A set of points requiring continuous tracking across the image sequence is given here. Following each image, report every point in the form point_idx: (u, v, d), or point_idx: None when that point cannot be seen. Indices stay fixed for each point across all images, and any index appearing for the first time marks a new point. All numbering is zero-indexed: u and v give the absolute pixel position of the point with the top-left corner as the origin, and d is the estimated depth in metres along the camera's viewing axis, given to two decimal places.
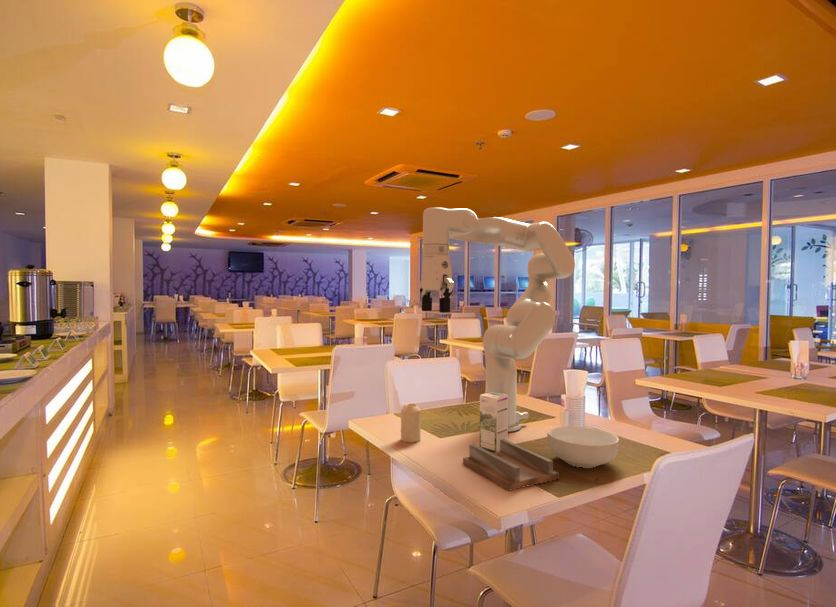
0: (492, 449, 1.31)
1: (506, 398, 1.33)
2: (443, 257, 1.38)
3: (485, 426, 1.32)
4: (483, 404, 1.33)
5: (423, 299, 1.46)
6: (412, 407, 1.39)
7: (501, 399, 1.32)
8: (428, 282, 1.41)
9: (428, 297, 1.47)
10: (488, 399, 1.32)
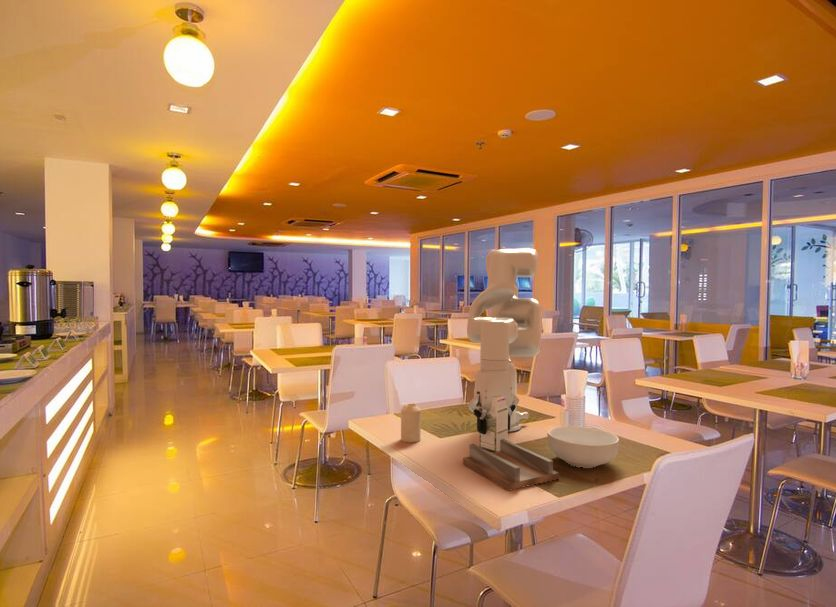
0: (492, 449, 1.31)
1: None
2: None
3: None
4: None
5: (485, 421, 1.31)
6: (412, 407, 1.39)
7: (501, 399, 1.32)
8: None
9: None
10: None
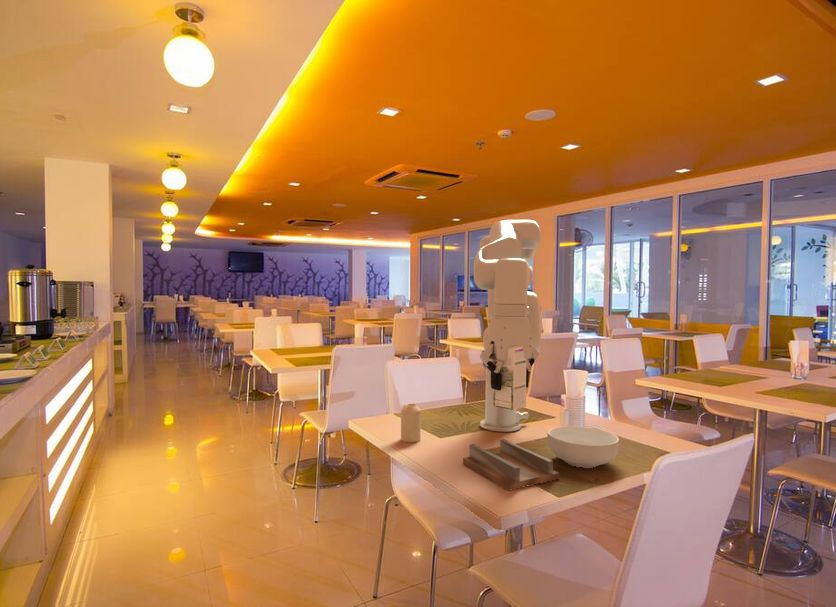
0: (508, 407, 1.14)
1: None
2: None
3: None
4: None
5: (501, 375, 1.14)
6: (412, 407, 1.39)
7: (519, 349, 1.14)
8: None
9: None
10: None
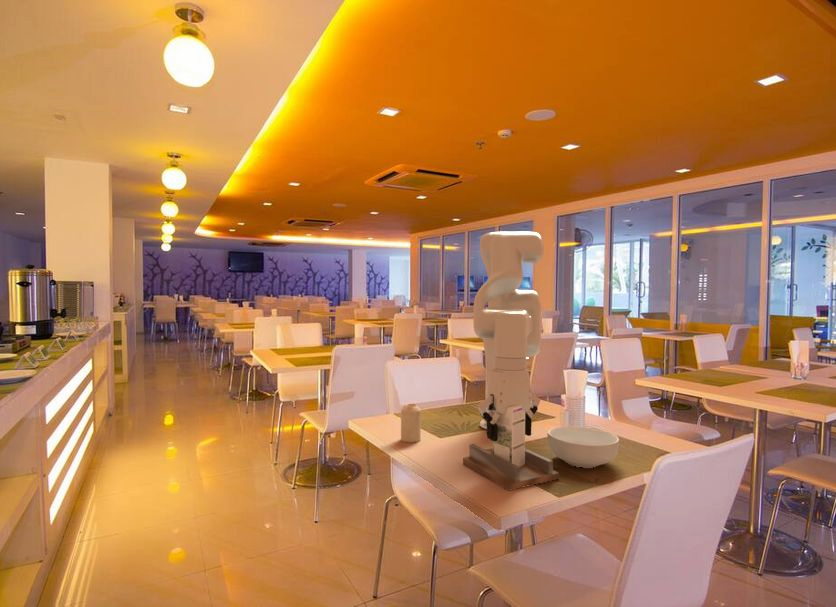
0: None
1: None
2: None
3: (499, 440, 1.15)
4: None
5: (497, 426, 1.13)
6: (412, 407, 1.39)
7: (517, 409, 1.14)
8: (516, 403, 1.14)
9: None
10: None
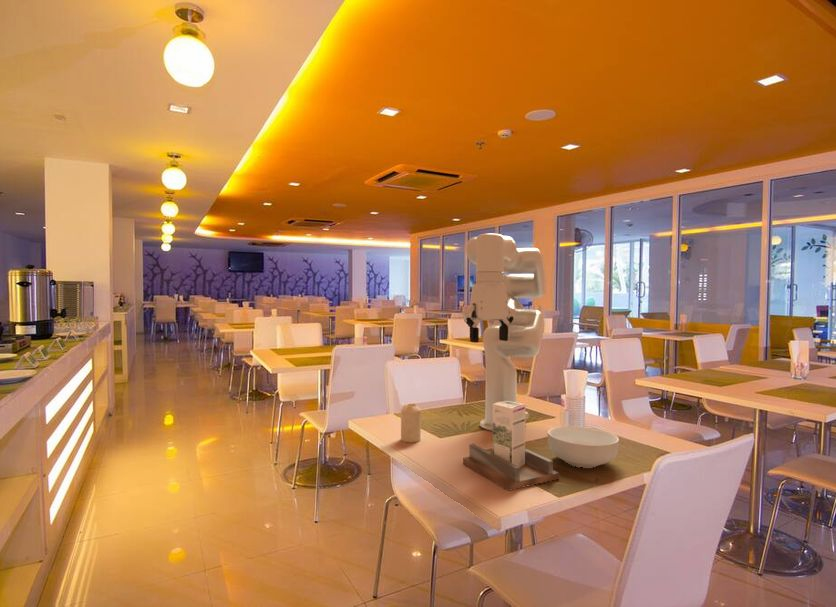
0: None
1: (523, 408, 1.16)
2: None
3: (499, 440, 1.15)
4: (497, 415, 1.15)
5: (478, 329, 1.34)
6: (412, 407, 1.39)
7: (518, 409, 1.14)
8: (494, 311, 1.35)
9: None
10: (502, 409, 1.14)
